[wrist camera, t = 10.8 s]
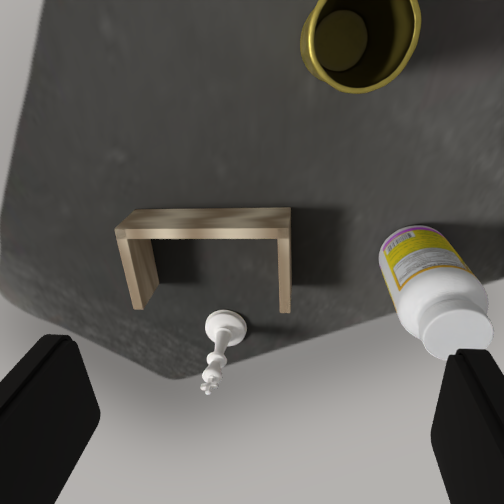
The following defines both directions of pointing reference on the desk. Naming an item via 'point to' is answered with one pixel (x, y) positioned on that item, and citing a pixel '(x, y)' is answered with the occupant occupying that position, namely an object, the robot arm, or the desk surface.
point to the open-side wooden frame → (199, 227)
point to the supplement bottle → (435, 292)
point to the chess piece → (221, 343)
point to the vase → (360, 42)
